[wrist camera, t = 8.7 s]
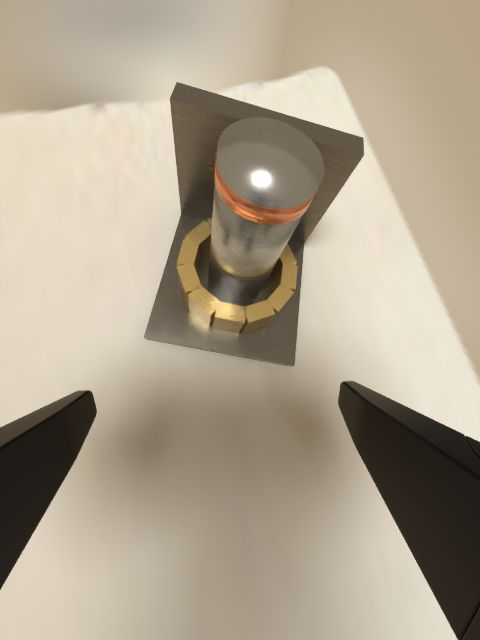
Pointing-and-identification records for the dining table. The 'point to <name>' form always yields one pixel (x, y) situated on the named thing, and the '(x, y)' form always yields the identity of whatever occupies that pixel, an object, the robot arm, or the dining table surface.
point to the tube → (257, 202)
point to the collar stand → (195, 237)
